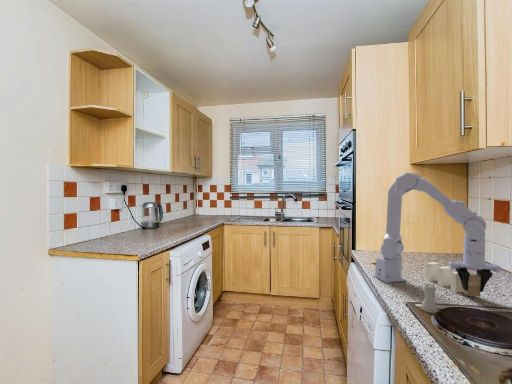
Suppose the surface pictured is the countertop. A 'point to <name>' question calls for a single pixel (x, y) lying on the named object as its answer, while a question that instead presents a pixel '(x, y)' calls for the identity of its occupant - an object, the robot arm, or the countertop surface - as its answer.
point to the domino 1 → (432, 271)
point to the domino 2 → (444, 276)
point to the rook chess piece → (429, 299)
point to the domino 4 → (474, 285)
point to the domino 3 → (456, 283)
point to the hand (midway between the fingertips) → (472, 290)
